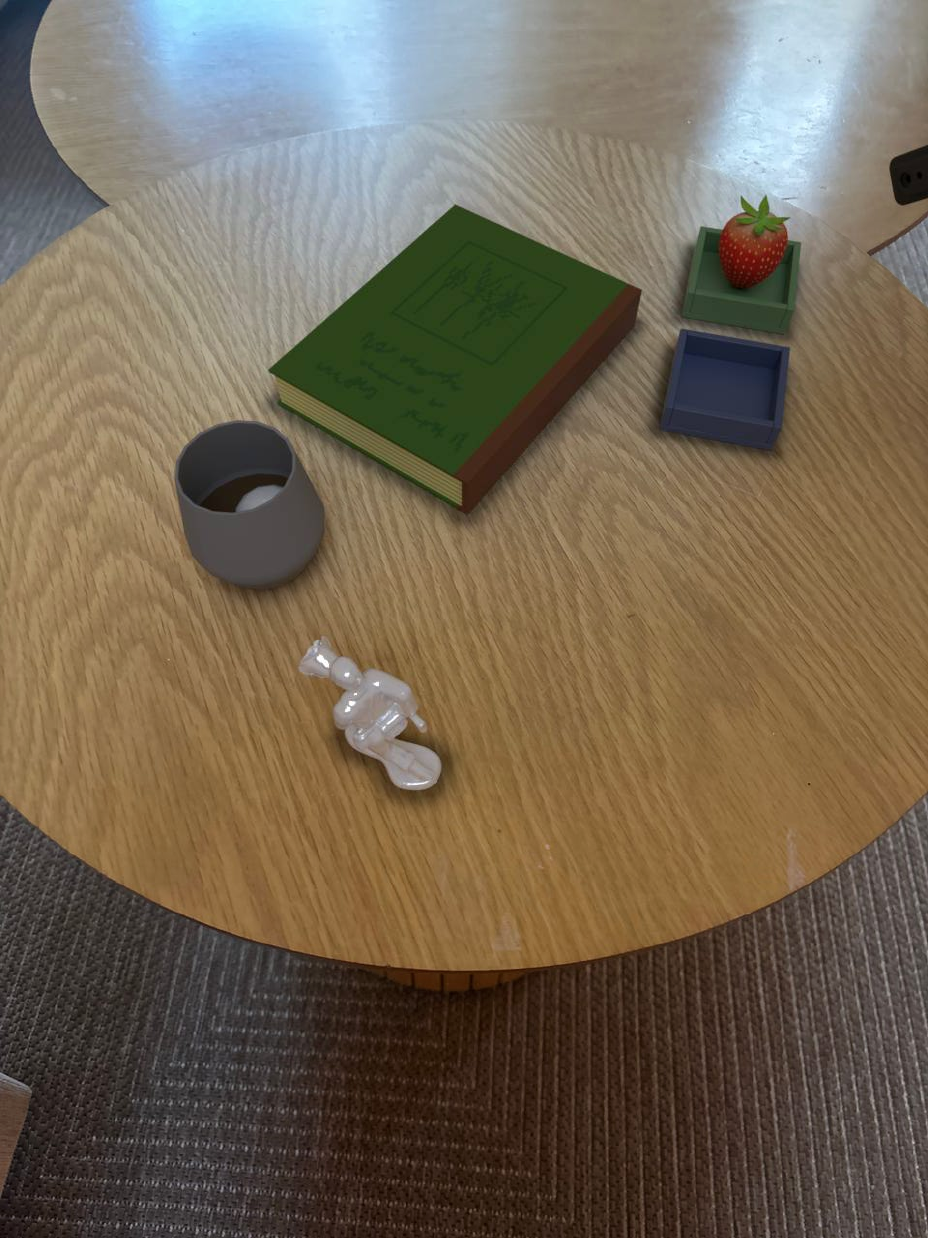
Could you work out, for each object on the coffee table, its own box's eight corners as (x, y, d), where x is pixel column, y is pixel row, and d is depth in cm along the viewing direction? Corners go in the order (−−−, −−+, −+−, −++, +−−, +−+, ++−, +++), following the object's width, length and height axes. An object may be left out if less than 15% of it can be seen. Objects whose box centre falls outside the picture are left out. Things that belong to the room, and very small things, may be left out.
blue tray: (780, 370, 72) (790, 346, 70) (771, 451, 68) (781, 428, 66) (674, 352, 73) (680, 327, 71) (659, 429, 69) (665, 406, 67)
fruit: (776, 275, 77) (806, 191, 70) (762, 314, 75) (792, 231, 68) (715, 260, 78) (739, 175, 71) (700, 297, 76) (723, 214, 69)
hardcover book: (467, 514, 65) (467, 483, 62) (277, 404, 71) (268, 369, 68) (639, 320, 75) (646, 284, 72) (460, 236, 81) (460, 199, 77)
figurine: (421, 810, 54) (410, 738, 44) (295, 745, 57) (256, 661, 46) (458, 745, 56) (455, 661, 46) (335, 685, 59) (305, 591, 48)
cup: (262, 482, 67) (231, 387, 58) (358, 541, 64) (341, 450, 56) (173, 568, 63) (126, 481, 54) (272, 635, 60) (239, 553, 52)
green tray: (792, 266, 79) (801, 241, 76) (784, 334, 74) (794, 309, 72) (693, 250, 80) (700, 225, 77) (681, 316, 76) (687, 292, 73)
